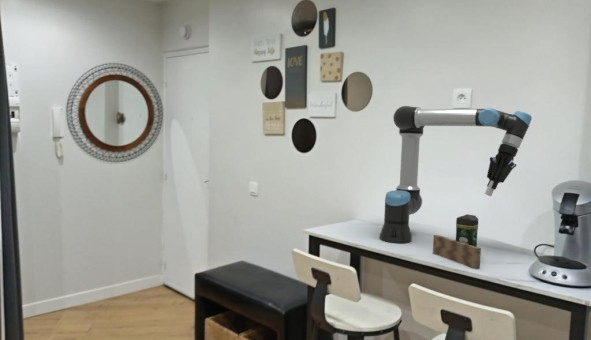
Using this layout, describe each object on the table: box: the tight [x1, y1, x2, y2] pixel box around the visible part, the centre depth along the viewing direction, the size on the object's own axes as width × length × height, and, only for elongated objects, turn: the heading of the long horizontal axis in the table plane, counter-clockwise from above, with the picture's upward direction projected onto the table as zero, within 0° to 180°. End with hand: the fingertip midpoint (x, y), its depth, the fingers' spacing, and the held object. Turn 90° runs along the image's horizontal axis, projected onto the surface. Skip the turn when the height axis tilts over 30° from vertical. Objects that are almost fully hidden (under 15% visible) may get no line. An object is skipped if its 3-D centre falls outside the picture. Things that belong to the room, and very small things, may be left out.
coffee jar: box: [455, 213, 479, 247], centre depth 189 cm, size 10×8×19 cm
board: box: [432, 234, 482, 270], centre depth 186 cm, size 24×2×8 cm, turn 25°
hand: (487, 195), depth 201 cm, fingers closed
